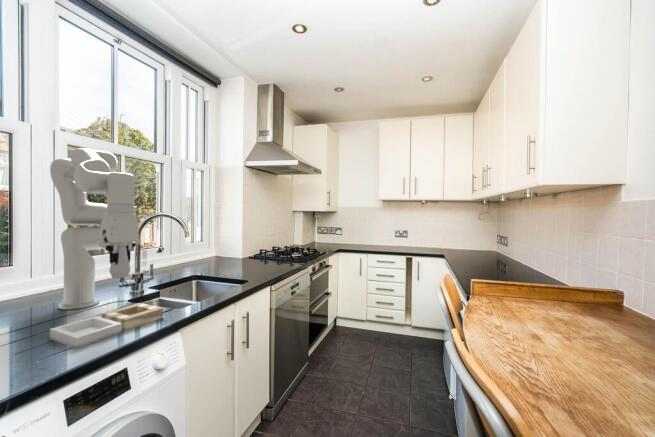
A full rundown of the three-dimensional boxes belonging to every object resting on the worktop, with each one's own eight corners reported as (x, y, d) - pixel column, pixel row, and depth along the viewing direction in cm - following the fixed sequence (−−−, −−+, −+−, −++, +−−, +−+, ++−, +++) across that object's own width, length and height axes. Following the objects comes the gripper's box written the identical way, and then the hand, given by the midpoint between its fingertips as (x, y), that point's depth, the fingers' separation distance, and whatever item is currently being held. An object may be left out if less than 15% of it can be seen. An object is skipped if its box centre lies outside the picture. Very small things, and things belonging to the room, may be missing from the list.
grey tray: (50, 338, 85) (50, 328, 85) (95, 324, 96) (95, 316, 96) (76, 348, 80) (76, 338, 80) (121, 332, 91) (122, 323, 91)
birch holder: (101, 323, 98) (101, 313, 97) (139, 311, 109) (139, 302, 109) (125, 330, 92) (126, 319, 92) (162, 317, 104) (162, 308, 104)
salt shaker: (119, 279, 93) (120, 240, 93) (104, 278, 94) (105, 239, 94) (134, 275, 99) (135, 238, 99) (120, 274, 100) (120, 237, 100)
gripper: (137, 209, 105) (136, 259, 105) (86, 208, 90) (85, 266, 90) (151, 210, 102) (150, 261, 103) (101, 209, 87) (100, 269, 87)
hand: (120, 263), depth 96 cm, fingers closed on salt shaker, 3 cm apart
